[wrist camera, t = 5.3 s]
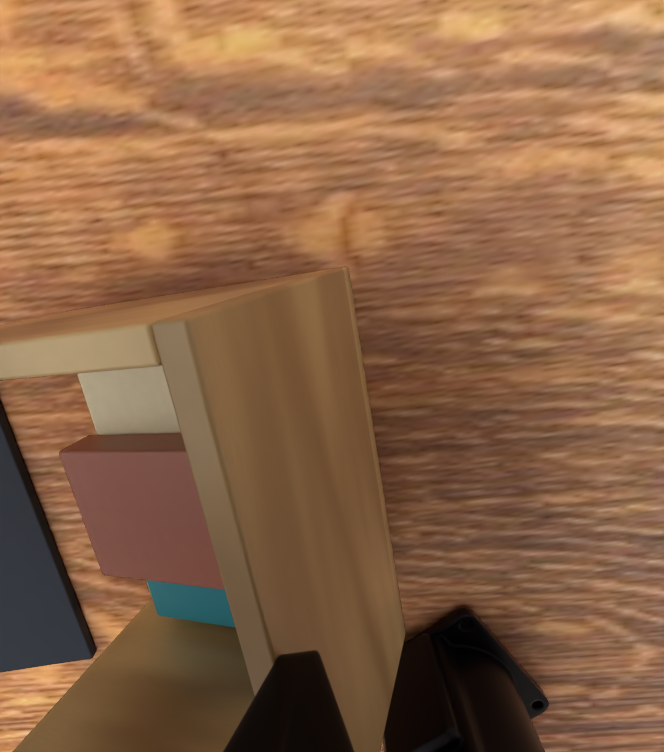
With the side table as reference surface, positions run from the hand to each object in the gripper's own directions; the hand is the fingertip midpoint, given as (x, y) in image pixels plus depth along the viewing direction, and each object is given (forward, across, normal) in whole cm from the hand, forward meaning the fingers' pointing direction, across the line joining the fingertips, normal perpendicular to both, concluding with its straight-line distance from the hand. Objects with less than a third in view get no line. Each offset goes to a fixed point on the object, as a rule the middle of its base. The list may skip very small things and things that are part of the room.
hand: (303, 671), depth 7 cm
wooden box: (+8, +3, 0) cm, 8 cm away
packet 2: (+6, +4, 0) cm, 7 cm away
